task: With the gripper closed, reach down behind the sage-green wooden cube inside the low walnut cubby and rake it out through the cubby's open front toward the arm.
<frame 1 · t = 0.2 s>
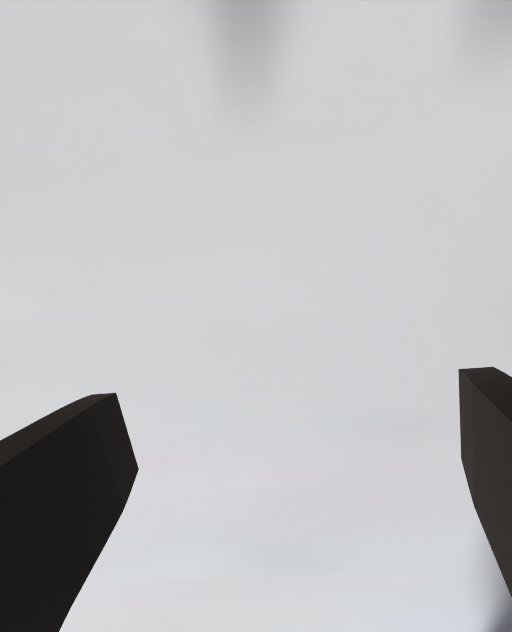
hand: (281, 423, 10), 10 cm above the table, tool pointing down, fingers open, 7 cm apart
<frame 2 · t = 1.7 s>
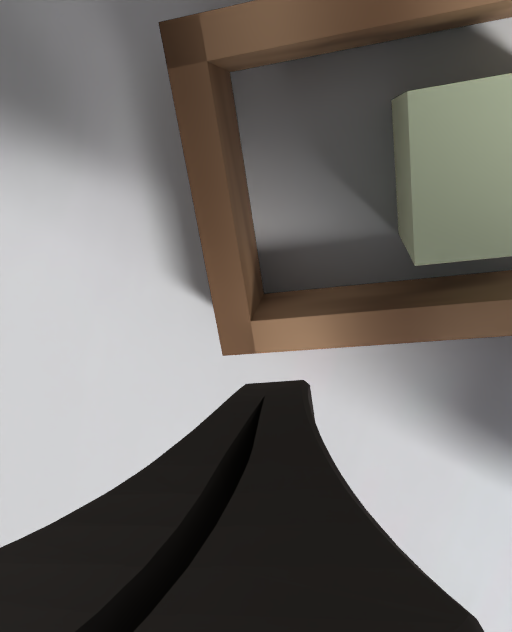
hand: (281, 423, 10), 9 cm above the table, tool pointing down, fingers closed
cube: (463, 160, 16), on the table
cubby: (417, 167, 17), on the table
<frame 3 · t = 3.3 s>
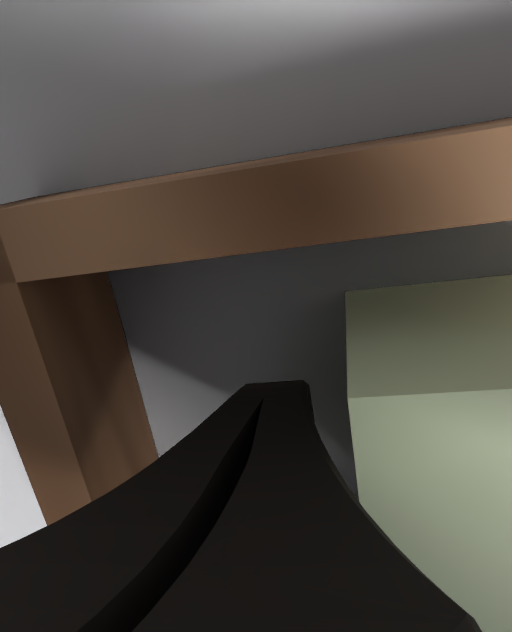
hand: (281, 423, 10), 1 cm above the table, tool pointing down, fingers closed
cube: (458, 376, 11), on the table, touching gripper
cubby: (388, 383, 11), on the table
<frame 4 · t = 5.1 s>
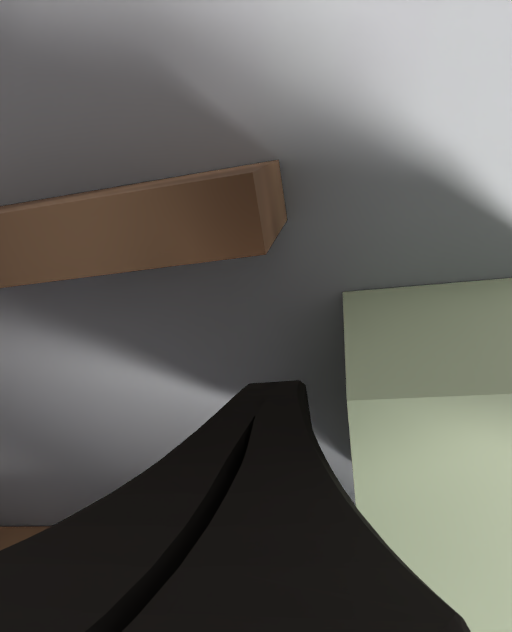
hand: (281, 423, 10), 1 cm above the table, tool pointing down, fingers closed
cube: (454, 380, 11), on the table, touching gripper
cubby: (98, 403, 13), on the table
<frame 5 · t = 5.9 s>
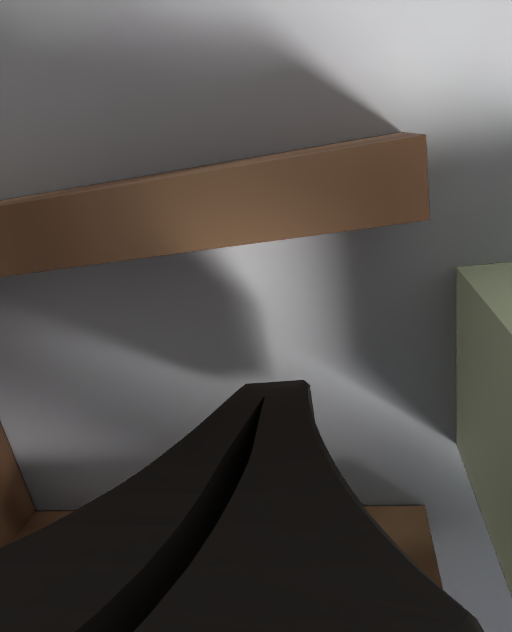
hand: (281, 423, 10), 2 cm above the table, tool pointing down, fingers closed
cubby: (192, 384, 12), on the table
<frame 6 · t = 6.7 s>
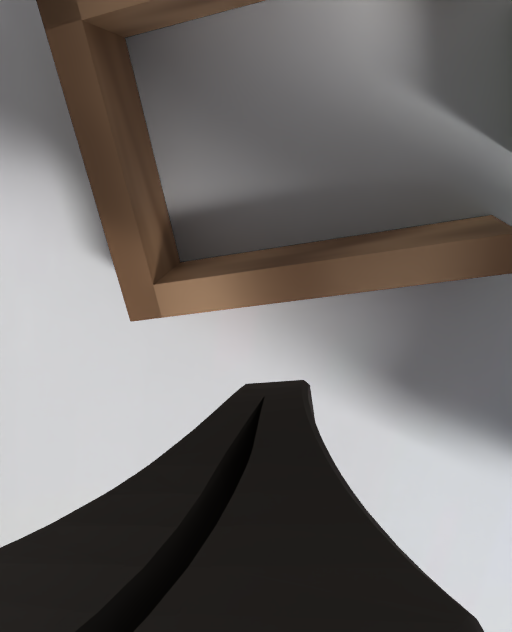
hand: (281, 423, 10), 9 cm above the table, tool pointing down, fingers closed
cubby: (316, 125, 17), on the table
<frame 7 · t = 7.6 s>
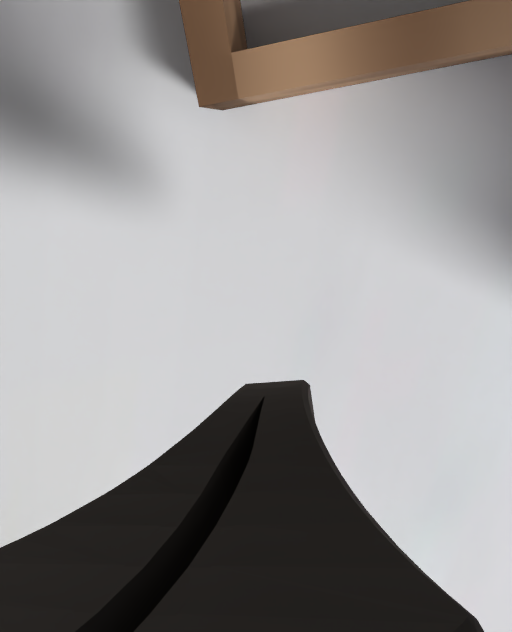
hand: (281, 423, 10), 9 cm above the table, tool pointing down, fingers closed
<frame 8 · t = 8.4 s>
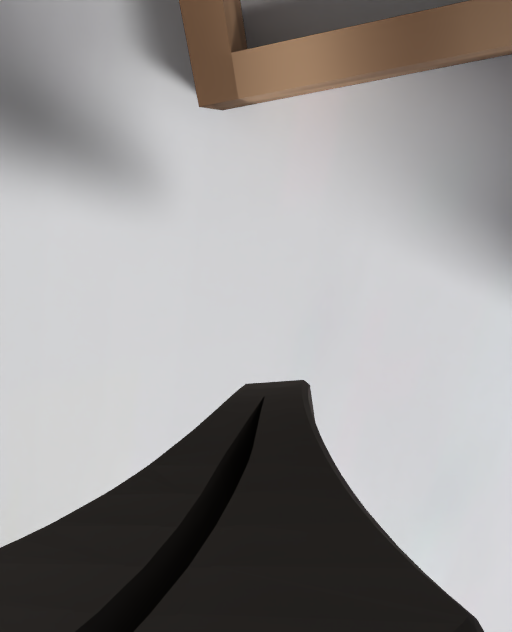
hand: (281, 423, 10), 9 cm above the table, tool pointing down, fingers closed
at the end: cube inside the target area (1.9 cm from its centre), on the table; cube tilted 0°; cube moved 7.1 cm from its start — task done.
